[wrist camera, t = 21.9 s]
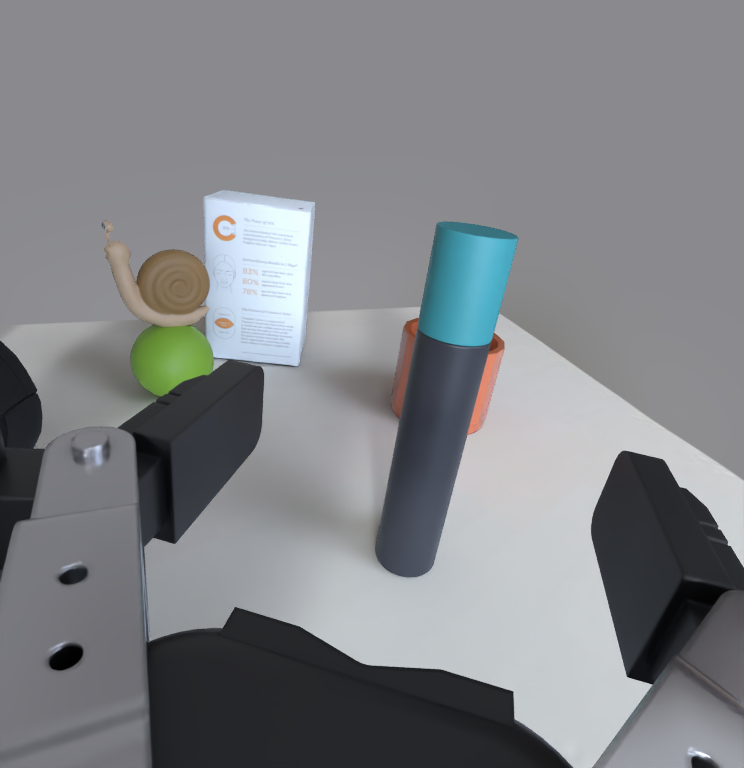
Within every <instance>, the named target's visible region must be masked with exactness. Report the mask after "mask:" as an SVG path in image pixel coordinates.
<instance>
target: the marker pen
mask: <svg viewBox="0 0 744 768" xmlns="http://www.w3.org/2000/svg"><path fill="white" fill-rule="evenodd" d="M517 242H518V237H517V236H516V235H514V234H512V233H509V232H506V231H503V230H499V229H495V228H491V227H486V226H481V225H475V224H467V223H459V222H439V223H437V225H436V231H435V236H434V241H433V246H432V251H431V257H430V263H429V268H428V273H427V278H426V283H425V289H424V294H423V299H422V305H421V310H420V315H419V320H418V327H417V331H416V336H415V342H414V347H413V352H412V358H411V363H410V368H409V374H408V379H407V384H406V389H405V395H404V400H403V405H402V411H401V416H400V421H399V427H398V432H397V437H396V443H395V448H394V453H393V458H392V464H391V469H390V474H389V480H388V485H387V490H386V496H385V501H384V506H383V512H382V517H381V522H380V527H379V533H378V538H377V543H376V555H377V558H378V560H379V562H380V563H381V564H382V565H383V566H384V567H385V568H386V569H387V570H389V571H390V572H392V573H394V574H397V575H399V576H404V577H417V576H420V575H423V574H425V573H426V572H428V571H429V570H430V569H431V568H432V566H433V564H434V560H435V556H436V552H437V549H438V545H439V541H440V537H441V533H442V529H443V526H444V522H445V518H446V514H447V510H448V506H449V503H450V499H451V495H452V491H453V487H454V484H455V480H456V476H457V472H458V468H459V464H460V461H461V457H462V453H463V449H464V445H465V441H466V438H467V434H468V430H469V426H470V422H471V418H472V415H473V411H474V407H475V403H476V399H477V395H478V392H479V388H480V384H481V380H482V376H483V372H484V369H485V365H486V361H487V357H488V353H489V349H490V346H491V341H492V338H493V334H494V330H495V326H496V323H497V319H498V315H499V311H500V307H501V303H502V300H503V296H504V292H505V288H506V284H507V280H508V277H509V273H510V269H511V265H512V261H513V257H514V254H515V250H516V246H517Z"/></svg>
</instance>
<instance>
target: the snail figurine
mask: <svg viewBox="0 0 744 768" xmlns="http://www.w3.org/2000/svg"><path fill="white" fill-rule="evenodd" d="M102 228H103V229H104V230H105V231H106V239H107V243H108V244H107V245H106V246H105V248H104V251H105V252H106V259H107V260H108V262H109V263H110V266H111V269H112V274H113V277H114V280H115V282H116V285H117V288H118V290H119V293H120V295H121V298H122V300H123V301H124V303H125V305H126V306H127V308H128V309H129V310H130V312H131V313H132V314H133V315H135V316H136V317H137V318H139V319H140V320H142V321H145V322H147V323H150V324H153V325H152V326H150V327H148V328H147V329H145V330H144V331H143V332H142V333H141V334H140V335H139V336H138V337H137V339H136V341H135V342H134V344H133V347H132V350H131V367H132V371H133V373H134V375H135V377H136V379H137V380H138V382H139V383H140V384H141V385H142V386H143V387H144V388H145V389H146V390H148V391H149V392H151V393H153V394H155V395H157V396H161V397H162V396H163V395H165V394H168V393H169V391H170V390H172V389H173V388H175V387H176V386H177V385H179V384H180V383H182V382H183V381H186V380H189V379H192V378H195V377H198V376H201V375H209V374H211V373H212V370H213V365H214V355H213V351H212V347H211V345H210V343H209V341H208V340H207V338H206V337H205V336H204V335H203V333H201V332H200V331H199V330H198V329H196V328H195V327H193V326H191V324H194V323H196V322H198V321H199V320H200V319H201V318H202V317H203V316H204V315H205V314H206V313H207V312H208V310H209V307H208V306H200V305H201V304H202V303H203V302H204V301H205V299H206V298H207V296H208V293H209V289H210V278H209V274H208V272H207V270H206V268H205V266H204V265H203V263H202V262H201V261H200V260H199V259H198V258H197V257H195V256H194V255H192V254H190V253H188V252H185V251H181V250H174V249H173V250H164V251H160V252H158V253H156V254H154V255H152V256H151V257H150V258H148V259H147V260H146V261H145V262H144V263H143V265H142V266H141V269H140V270H139V272H138V276H137V283H136V281H135V279H134V276H133V274H132V271H131V268H130V264H129V260H130V250H129V248H128V247H127V245H126V244H124V243H122V242H120V241H112V242H110V240H109V232H112V231H113V225H112V224H111V223H110V222H109V221H107V220H105V221H103V222H102ZM107 235H108V238H107Z"/></svg>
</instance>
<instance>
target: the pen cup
mask: <svg viewBox="0 0 744 768" xmlns="http://www.w3.org/2000/svg"><path fill="white" fill-rule="evenodd" d="M418 320H419V318H416V319H413V320H410V321H407V322H406V324H405V326H404V328H403V333H402V339H401V344H400V350H399V356H398V361H397V367H396V373H395V378H394V384H393V390H392V399H391V407H392V410H393V412H394V413H395V415H396V416H397V417H398V418H399V419H400V416H401V411H402V405H403V400H404V395H405V389H406V384H407V379H408V374H409V368H410V363H411V358H412V352H413V347H414V342H415V336H416V331H417V327H418ZM503 353H504V341H503V340H502V339H501V338H500V337H499V336H498V335H496V334H493V338H492V341H491V346H490V349H489V353H488V357H487V361H486V365H485V369H484V372H483V376H482V380H481V384H480V388H479V392H478V395H477V399H476V403H475V407H474V411H473V415H472V418H471V422H470V426H469V430H468V434H472V433H474V432H476V431H478V430H479V429H480V428H481V427H482V425H483V423H484V419H485V417H486V414H487V411H488V407H489V403H490V400H491V396H492V393H493V389H494V385H495V382H496V378H497V374H498V371H499V367H500V364H501V360H502V356H503ZM468 434H467V435H468Z"/></svg>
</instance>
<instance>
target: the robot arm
mask: <svg viewBox="0 0 744 768" xmlns="http://www.w3.org/2000/svg"><path fill="white" fill-rule="evenodd" d="M263 390H264V372H263V369H262V367H260V366H256V365H251V364H247V363H243V362H238V361H234V360H228V361H227V362H225V363H224V364H223V365H221V366H220V367H219V368H217V369H216V370H215V371H213V372H212V373H211V374H209V375H201V376H198V377H195V378H192V379H189V380H186V381H183V382H182V383H180V384H179V385H177V386H176V387H175V388H173V389H172V390H170V391H169V393H168V394H165V395H163V396H162V397H160V398H159V399H158V400H157V401H156V403H154V402H153V403H152V404H150V405H149V406H148V407H146V408H145V409H143V410H142V411H141V412H139V413H138V414H136V415H135V416H133V417H132V418H131V419H129V420H128V421H126V422H125V423H124V424H122V425H121V426H119V427H118V428H114V427H101V426H100V427H88V428H82V429H78V430H74V431H71V432H68V433H66V434H63V435H61V436H59V437H57V438H56V439H55V440H53V441H52V442H51V443H50V444H49V445H48V446H47V447H46V449H28V448H5V447H4V442H3V438H2V433H1V429H0V768H573V767H572V766H571V765H570V764H569V763H568V762H567V761H566V760H565V759H564V758H563V757H562V756H561V755H560V753H559V752H557V751H556V750H555V749H554V748H553V747H552V746H551V745H549V744H548V743H547V742H546V741H545V740H544V739H543V738H541V737H540V736H539V735H537V734H536V733H535V732H533V731H532V730H531V729H529V728H528V727H526V726H525V725H523V724H522V723H520V722H518V721H517V720H515V719H514V698H513V691H510V690H506V689H503V688H500V687H497V686H493V685H490V684H487V683H483V682H480V681H477V680H474V679H470V678H467V677H464V676H460V675H457V674H454V673H450V672H447V671H444V670H441V669H422V668H404V667H386V666H370V665H365V664H362V663H360V662H358V661H356V660H354V659H353V658H351V657H349V656H348V655H346V654H344V653H343V652H341V651H339V650H338V649H336V648H334V647H333V646H331V645H329V644H328V643H326V642H324V641H323V640H321V639H319V638H318V637H316V636H314V635H313V634H311V633H309V632H308V631H306V630H304V629H303V628H301V627H299V626H296V625H293V624H289V623H286V622H283V621H280V620H276V619H273V618H270V617H266V616H263V615H260V614H257V613H253V612H250V611H247V610H243V609H240V608H237V607H235V608H234V610H233V612H232V613H231V615H230V617H229V618H228V620H227V622H226V624H225V625H224V627H223V628H207V629H195V630H189V631H183V632H178V633H175V634H171V635H167V636H164V637H160V638H158V639H155V640H153V641H150V629H149V614H148V598H147V582H146V566H145V552H144V547H145V546H146V545H147V544H148V543H149V541H150V540H151V539H152V538H156V539H160V540H163V541H167V542H170V543H173V544H175V543H176V542H177V541H178V540H179V539H180V537H181V536H182V535H183V534H184V533H185V531H186V530H187V529H188V528H189V527H190V525H191V524H192V523H193V522H194V521H195V520H196V518H197V517H198V516H199V515H200V514H201V512H202V511H203V510H204V509H205V508H206V506H207V505H208V504H209V503H210V502H211V500H212V499H213V498H214V497H215V496H216V494H217V493H218V492H219V491H220V490H221V488H222V487H223V486H224V485H225V484H226V482H227V481H228V480H229V479H230V478H231V476H232V475H233V474H234V473H235V472H236V470H237V469H238V468H239V467H240V466H241V465H242V463H243V462H244V461H245V460H246V459H247V457H248V456H249V455H250V454H251V453H252V451H253V450H254V448H255V447H256V445H257V442H258V440H259V437H260V433H261V428H262V411H263ZM591 536H592V541H593V545H594V549H595V553H596V557H597V560H598V564H599V568H600V572H601V576H602V580H603V584H604V588H605V592H606V596H607V600H608V604H609V608H610V612H611V616H612V620H613V623H614V627H615V631H616V635H617V639H618V643H619V647H620V651H621V655H622V659H623V663H624V667H625V671H626V675H627V677H629V678H632V679H635V680H639V681H642V682H646V683H649V684H653V685H652V687H651V688H650V689H649V691H648V692H647V694H646V695H645V696H644V698H643V699H642V700H641V702H640V703H639V705H638V706H637V707H636V709H635V710H634V711H633V713H632V714H631V716H630V717H629V718H628V720H627V721H626V722H625V724H624V725H623V726H622V728H621V729H620V731H619V732H618V733H617V735H616V736H615V737H614V739H613V740H612V742H611V743H610V744H609V746H608V747H607V748H606V750H605V751H604V753H603V754H602V755H601V757H600V758H599V759H598V761H597V762H596V764H595V765H594V766H593V768H744V568H743V566H742V564H741V563H740V561H739V559H738V558H737V556H736V554H735V553H734V551H733V549H732V548H731V546H728V545H727V544H728V541H727V540H726V538H725V536H724V535H723V533H722V531H721V530H719V529H718V525H717V523H716V521H715V520H714V518H713V517H712V515H711V513H710V512H709V510H708V508H707V507H706V506H705V505H704V504H703V503H702V502H700V501H699V500H698V499H697V498H696V497H695V496H694V495H693V494H692V493H690V492H689V491H688V490H687V489H685V488H681V487H679V486H678V484H677V482H676V480H675V478H674V477H673V475H672V473H671V471H670V470H669V468H668V466H667V464H666V462H665V461H664V460H663V459H659V458H655V457H651V456H646V455H642V454H638V453H633V452H629V451H622V452H621V453H620V454H619V455H618V457H617V458H616V460H615V462H614V465H613V467H612V470H611V472H610V474H609V477H608V479H607V481H606V484H605V486H604V488H603V491H602V493H601V496H600V498H599V500H598V503H597V505H596V507H595V510H594V513H593V518H592V524H591Z"/></svg>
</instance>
